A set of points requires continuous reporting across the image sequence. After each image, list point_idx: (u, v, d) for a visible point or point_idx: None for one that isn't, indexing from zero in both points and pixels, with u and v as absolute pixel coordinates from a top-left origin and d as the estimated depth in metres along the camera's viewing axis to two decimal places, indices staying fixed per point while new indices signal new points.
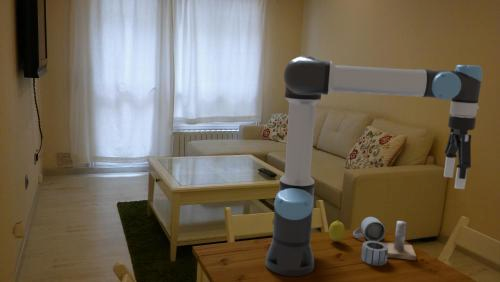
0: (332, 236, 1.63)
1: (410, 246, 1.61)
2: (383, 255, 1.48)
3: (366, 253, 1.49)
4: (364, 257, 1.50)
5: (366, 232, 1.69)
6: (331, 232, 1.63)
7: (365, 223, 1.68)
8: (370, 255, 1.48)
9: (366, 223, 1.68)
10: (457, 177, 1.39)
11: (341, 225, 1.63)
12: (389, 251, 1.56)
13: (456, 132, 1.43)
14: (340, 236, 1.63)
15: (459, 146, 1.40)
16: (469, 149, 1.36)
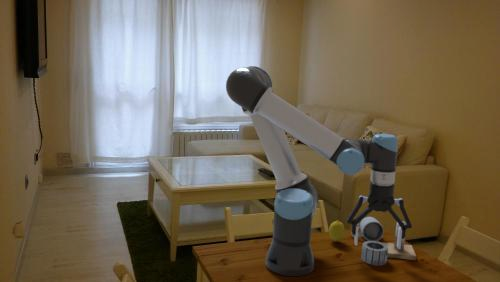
0: (332, 236, 1.63)
1: (410, 246, 1.61)
2: (383, 255, 1.48)
3: (366, 253, 1.49)
4: (364, 257, 1.50)
5: (364, 232, 1.69)
6: (331, 232, 1.63)
7: (364, 223, 1.68)
8: (370, 255, 1.48)
9: (364, 223, 1.68)
10: None
11: (341, 225, 1.63)
12: (389, 251, 1.56)
13: None
14: (340, 236, 1.63)
15: (366, 207, 1.50)
16: (355, 208, 1.49)
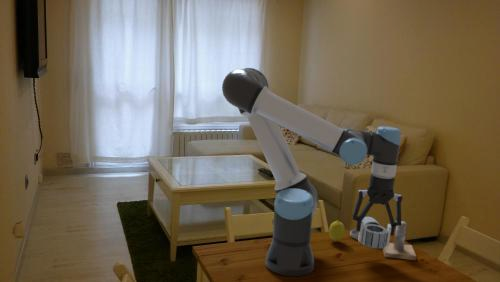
0: (332, 236, 1.63)
1: (410, 246, 1.61)
2: (383, 238, 1.47)
3: (365, 236, 1.49)
4: (363, 240, 1.49)
5: None
6: (331, 232, 1.63)
7: None
8: (370, 238, 1.48)
9: None
10: None
11: (341, 225, 1.63)
12: (389, 251, 1.56)
13: None
14: (340, 236, 1.63)
15: None
16: (357, 203, 1.49)
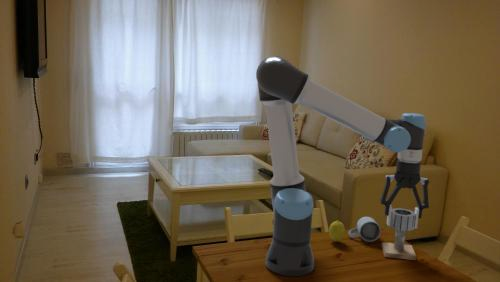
0: (332, 236, 1.63)
1: (410, 246, 1.61)
2: (411, 220, 1.53)
3: (394, 219, 1.54)
4: (392, 223, 1.55)
5: (361, 232, 1.69)
6: (331, 232, 1.63)
7: (361, 223, 1.68)
8: (399, 221, 1.53)
9: (361, 223, 1.68)
10: None
11: (341, 225, 1.63)
12: (389, 251, 1.56)
13: None
14: (340, 236, 1.63)
15: (395, 186, 1.56)
16: (384, 188, 1.55)
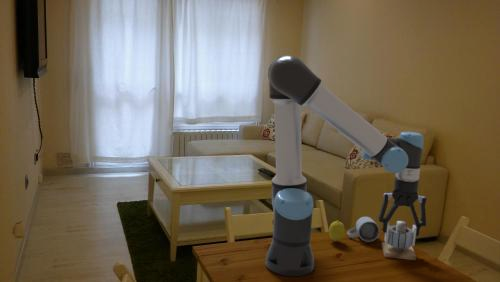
0: (332, 236, 1.63)
1: None
2: (409, 238, 1.54)
3: (392, 237, 1.55)
4: (390, 240, 1.56)
5: (360, 232, 1.69)
6: (331, 232, 1.63)
7: (360, 223, 1.68)
8: (396, 238, 1.54)
9: (360, 223, 1.68)
10: None
11: (341, 225, 1.63)
12: (389, 251, 1.56)
13: None
14: (340, 236, 1.63)
15: (393, 204, 1.57)
16: (382, 206, 1.56)
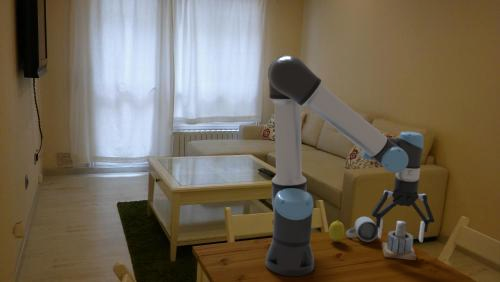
0: (332, 236, 1.63)
1: None
2: (409, 244, 1.54)
3: (392, 242, 1.56)
4: (390, 246, 1.56)
5: (359, 232, 1.69)
6: (331, 232, 1.63)
7: (358, 223, 1.68)
8: (396, 244, 1.55)
9: (359, 223, 1.68)
10: None
11: (341, 225, 1.63)
12: (389, 251, 1.56)
13: None
14: (340, 236, 1.63)
15: (390, 202, 1.57)
16: (380, 202, 1.56)
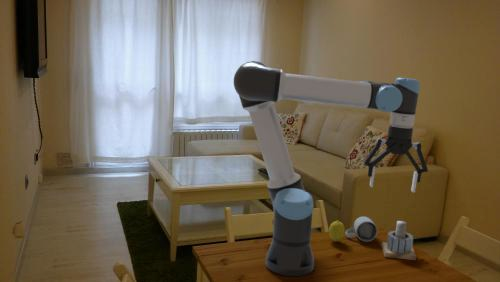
0: (332, 236, 1.63)
1: None
2: (409, 244, 1.54)
3: (392, 242, 1.56)
4: (390, 246, 1.56)
5: (358, 232, 1.69)
6: (331, 232, 1.63)
7: (357, 223, 1.68)
8: (396, 244, 1.55)
9: (358, 223, 1.68)
10: None
11: (341, 225, 1.63)
12: (389, 251, 1.56)
13: None
14: (340, 236, 1.63)
15: (384, 150, 1.53)
16: (372, 150, 1.52)
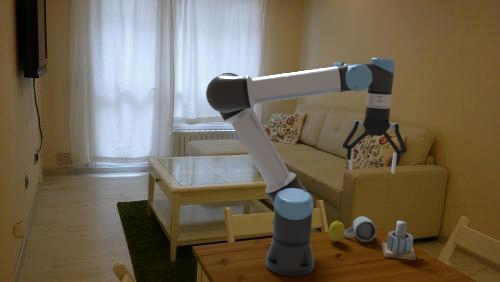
0: (332, 236, 1.63)
1: None
2: (409, 244, 1.54)
3: (392, 242, 1.56)
4: (390, 246, 1.56)
5: (357, 232, 1.69)
6: (331, 232, 1.63)
7: (356, 223, 1.68)
8: (396, 244, 1.55)
9: (357, 223, 1.68)
10: None
11: (341, 225, 1.63)
12: (389, 251, 1.56)
13: None
14: (340, 236, 1.63)
15: (362, 132, 1.51)
16: (350, 132, 1.50)
